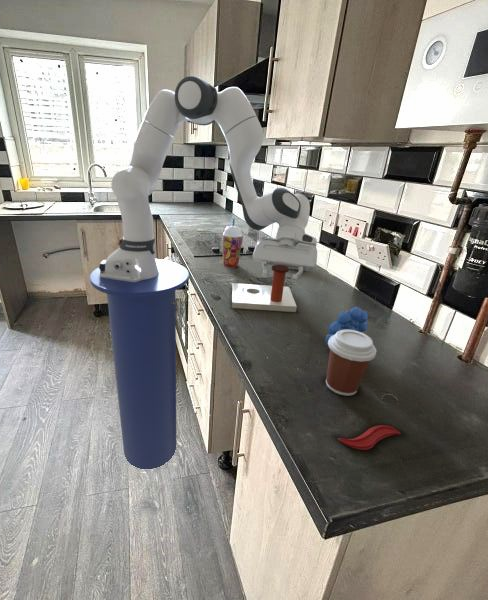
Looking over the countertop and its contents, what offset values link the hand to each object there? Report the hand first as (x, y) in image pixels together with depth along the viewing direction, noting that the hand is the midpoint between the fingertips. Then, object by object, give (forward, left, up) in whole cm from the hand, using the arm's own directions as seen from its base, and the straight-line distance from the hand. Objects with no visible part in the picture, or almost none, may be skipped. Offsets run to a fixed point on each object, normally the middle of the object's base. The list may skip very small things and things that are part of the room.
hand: (279, 277), depth 101 cm
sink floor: (-4, +3, -9) cm, 11 cm away
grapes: (+14, -24, -9) cm, 29 cm away
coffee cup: (+10, -39, -9) cm, 41 cm away
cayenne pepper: (+11, -53, -9) cm, 55 cm away
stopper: (0, -1, -7) cm, 7 cm away
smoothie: (-15, +36, -9) cm, 40 cm away
